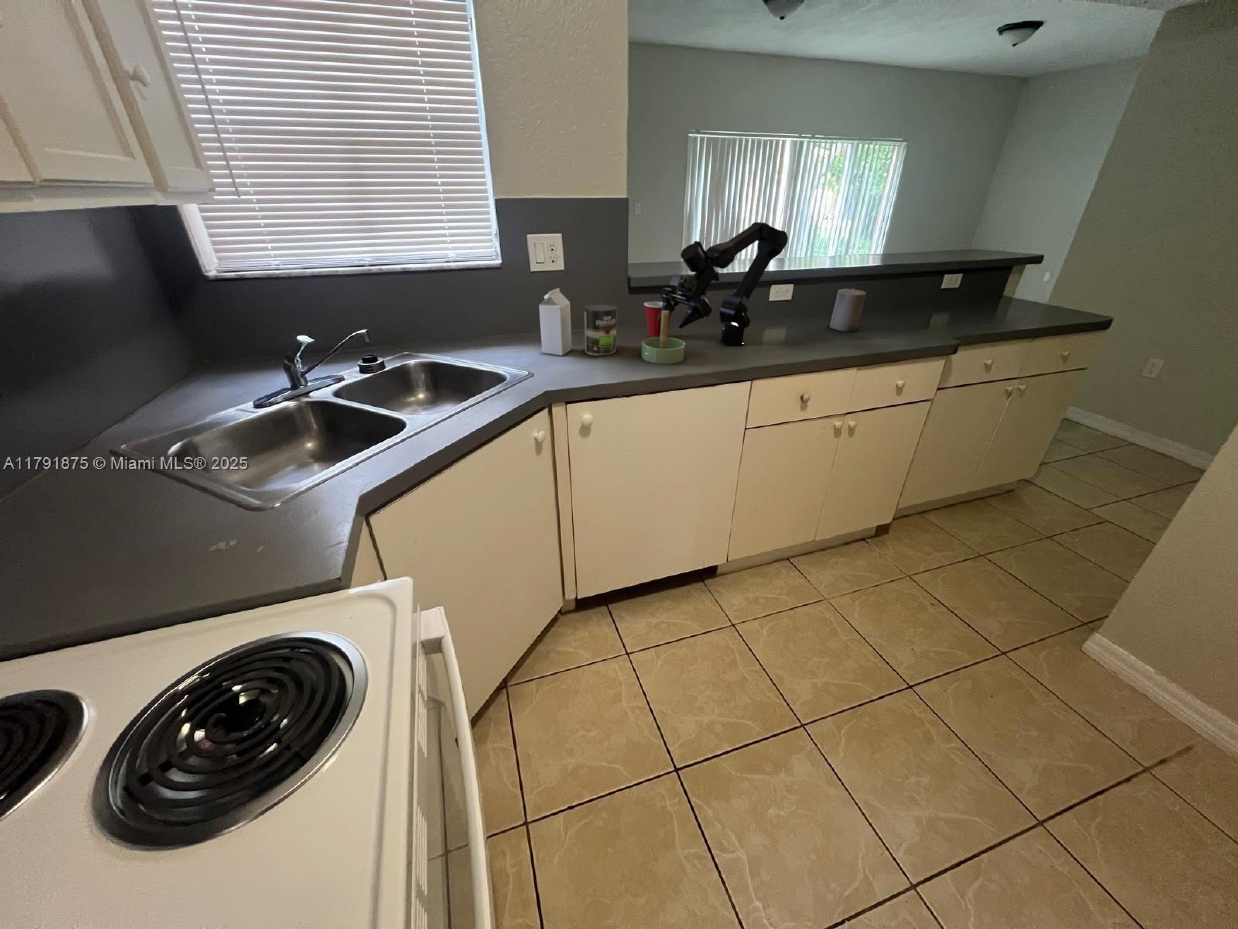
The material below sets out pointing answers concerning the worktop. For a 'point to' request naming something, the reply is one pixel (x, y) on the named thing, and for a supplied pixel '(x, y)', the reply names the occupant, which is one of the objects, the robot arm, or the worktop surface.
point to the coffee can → (600, 328)
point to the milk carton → (555, 323)
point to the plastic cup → (654, 318)
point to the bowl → (662, 350)
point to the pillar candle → (847, 309)
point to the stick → (664, 329)
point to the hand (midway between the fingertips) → (668, 324)
